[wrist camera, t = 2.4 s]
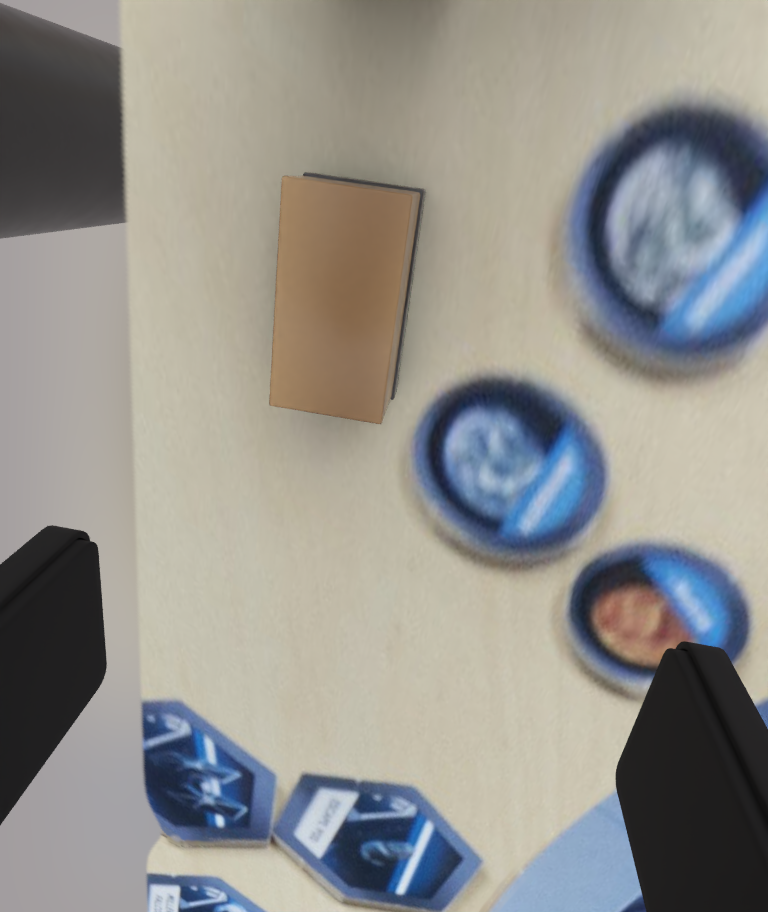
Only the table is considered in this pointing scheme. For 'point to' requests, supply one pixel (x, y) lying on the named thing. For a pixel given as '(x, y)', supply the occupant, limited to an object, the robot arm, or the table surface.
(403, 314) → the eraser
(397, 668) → the table surface
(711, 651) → the robot arm
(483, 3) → the table surface
